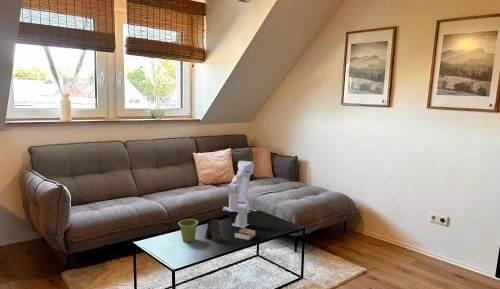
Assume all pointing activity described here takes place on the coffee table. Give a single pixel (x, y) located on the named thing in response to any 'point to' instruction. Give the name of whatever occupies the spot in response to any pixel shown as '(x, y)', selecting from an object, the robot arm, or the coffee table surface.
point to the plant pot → (188, 229)
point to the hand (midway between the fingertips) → (233, 222)
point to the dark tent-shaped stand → (213, 231)
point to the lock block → (245, 231)
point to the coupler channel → (245, 235)
